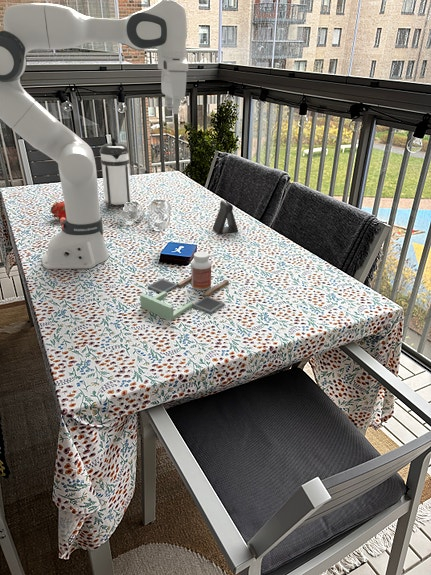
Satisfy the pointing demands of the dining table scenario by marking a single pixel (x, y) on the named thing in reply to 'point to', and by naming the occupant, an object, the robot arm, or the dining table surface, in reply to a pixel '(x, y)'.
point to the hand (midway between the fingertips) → (172, 111)
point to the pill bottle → (201, 271)
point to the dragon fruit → (58, 210)
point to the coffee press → (115, 173)
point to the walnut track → (208, 290)
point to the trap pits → (203, 304)
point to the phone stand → (221, 219)
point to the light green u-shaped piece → (162, 306)
